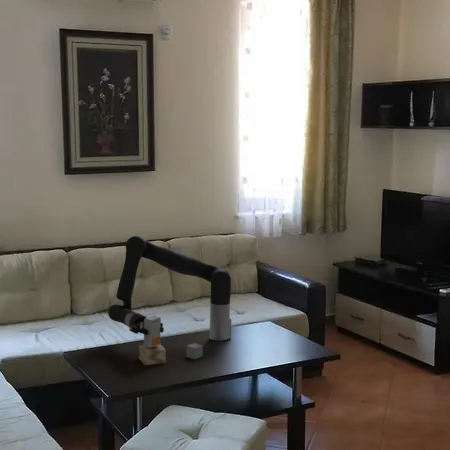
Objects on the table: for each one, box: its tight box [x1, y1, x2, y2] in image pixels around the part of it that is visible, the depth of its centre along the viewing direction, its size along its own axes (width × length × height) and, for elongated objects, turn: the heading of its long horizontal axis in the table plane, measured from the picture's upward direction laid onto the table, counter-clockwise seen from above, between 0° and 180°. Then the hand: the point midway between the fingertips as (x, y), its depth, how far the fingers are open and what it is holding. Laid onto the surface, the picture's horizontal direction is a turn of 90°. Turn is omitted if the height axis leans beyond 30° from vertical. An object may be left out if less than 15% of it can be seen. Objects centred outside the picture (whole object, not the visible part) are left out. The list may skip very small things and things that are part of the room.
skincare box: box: [143, 315, 162, 348], centre depth 290 cm, size 6×4×12 cm
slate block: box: [185, 342, 204, 360], centre depth 298 cm, size 5×5×5 cm
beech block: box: [138, 343, 167, 366], centre depth 292 cm, size 9×9×6 cm
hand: (154, 331), depth 288 cm, fingers closed on skincare box, 7 cm apart
